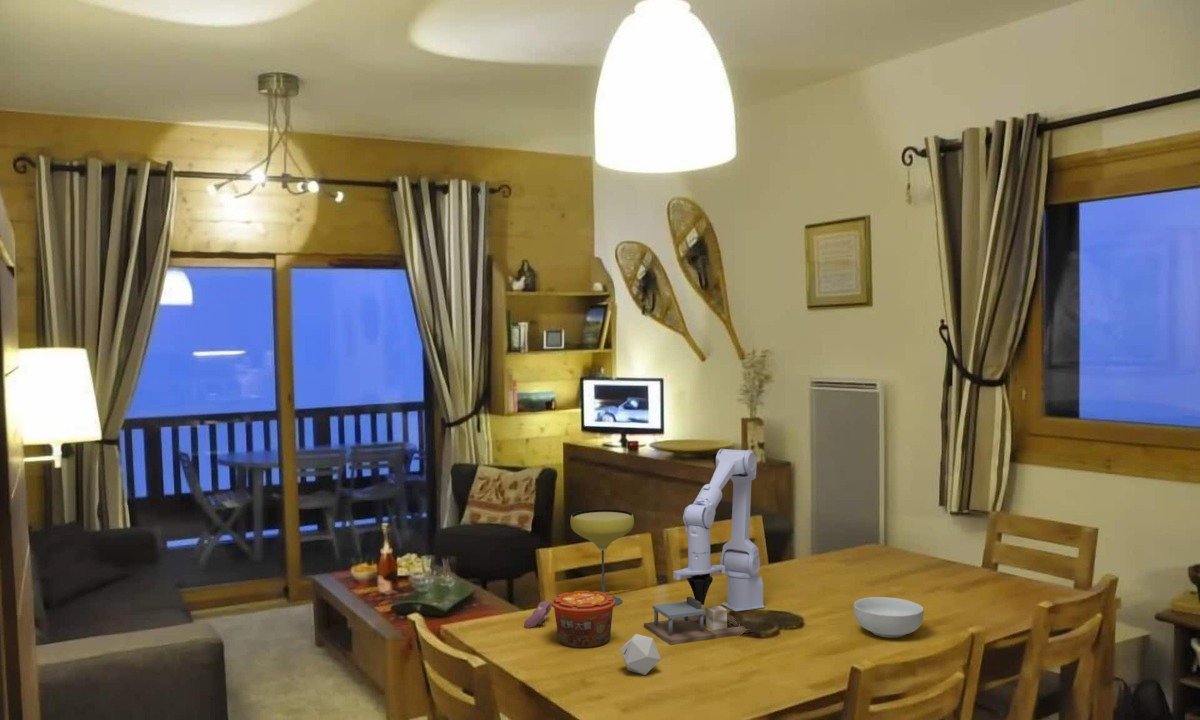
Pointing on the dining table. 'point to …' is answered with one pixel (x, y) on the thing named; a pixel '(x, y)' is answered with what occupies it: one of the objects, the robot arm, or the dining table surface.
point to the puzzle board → (691, 630)
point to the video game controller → (538, 615)
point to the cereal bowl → (888, 616)
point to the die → (640, 654)
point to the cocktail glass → (602, 529)
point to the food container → (583, 618)
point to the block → (716, 617)
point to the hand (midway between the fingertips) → (699, 604)
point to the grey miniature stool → (679, 611)
